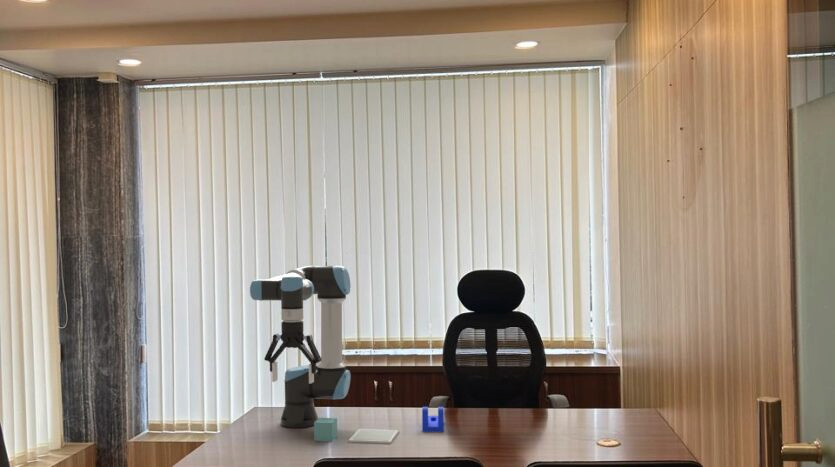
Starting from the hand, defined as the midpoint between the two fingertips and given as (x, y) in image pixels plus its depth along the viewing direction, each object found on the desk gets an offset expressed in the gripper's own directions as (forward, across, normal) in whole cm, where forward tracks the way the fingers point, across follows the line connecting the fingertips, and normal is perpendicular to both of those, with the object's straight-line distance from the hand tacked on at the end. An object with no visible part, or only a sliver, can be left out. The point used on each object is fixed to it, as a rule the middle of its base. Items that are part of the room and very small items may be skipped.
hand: (293, 382), depth 267 cm
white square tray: (+27, +19, +33) cm, 47 cm away
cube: (+27, +1, +28) cm, 39 cm away
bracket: (+28, +37, +55) cm, 72 cm away
